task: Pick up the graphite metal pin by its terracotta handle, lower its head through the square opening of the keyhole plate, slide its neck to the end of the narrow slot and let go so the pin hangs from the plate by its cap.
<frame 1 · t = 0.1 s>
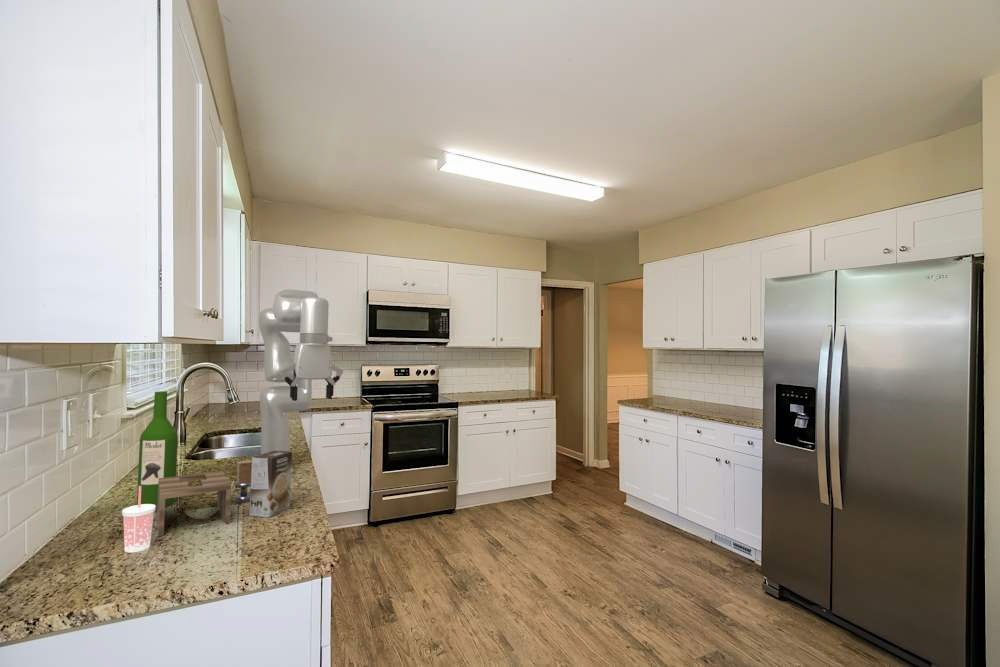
hand: (311, 399, 137), 31 cm above the worktop, fingers open, 9 cm apart
keyhole pin: (243, 500, 141), on the worktop
wine bottle: (156, 505, 136), on the worktop
keyhole plate: (192, 519, 125), on the worktop
beverage cup: (137, 549, 107), on the worktop
coffee box: (270, 512, 132), on the worktop
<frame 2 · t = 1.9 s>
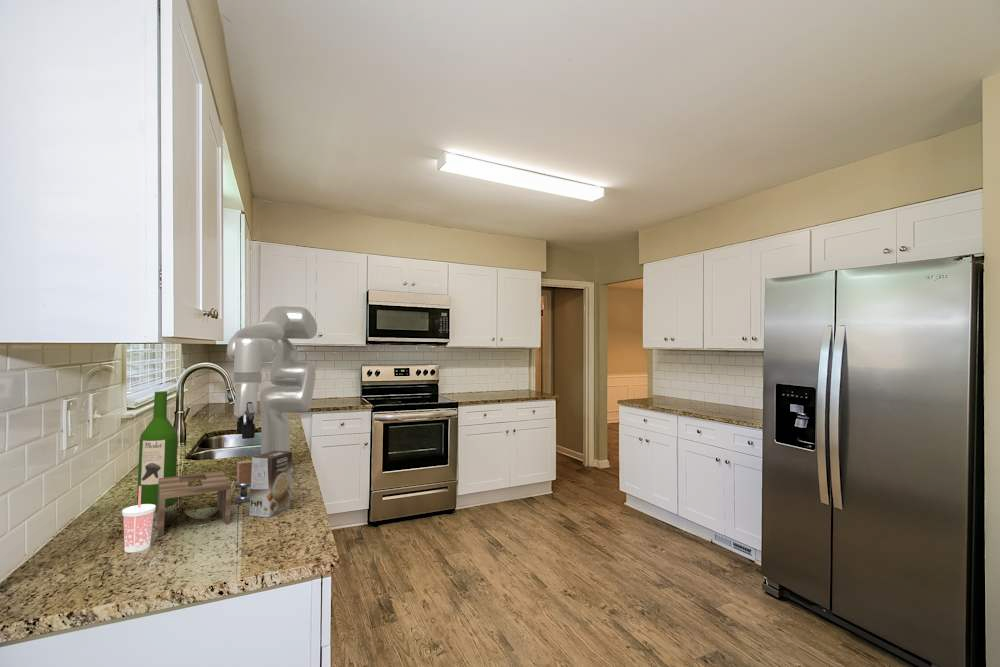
hand: (245, 436, 142), 19 cm above the worktop, fingers open, 9 cm apart
nothing on the worktop moved.
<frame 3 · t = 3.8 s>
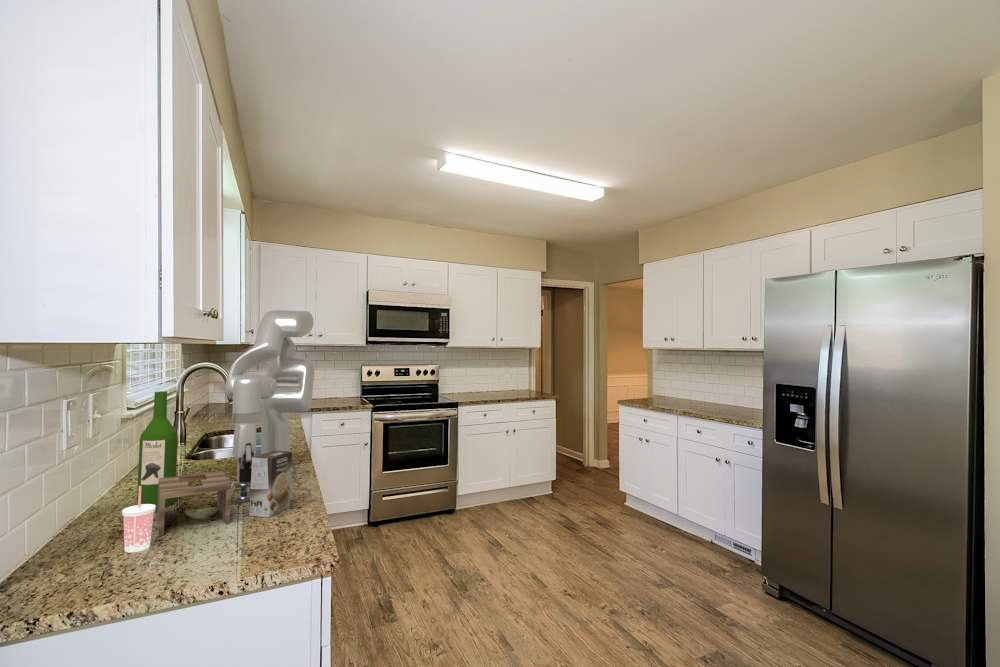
hand: (244, 479, 142), 6 cm above the worktop, fingers closed on keyhole pin, 3 cm apart
keyhole pin: (243, 500, 141), on the worktop, touching gripper
everything else where it was.
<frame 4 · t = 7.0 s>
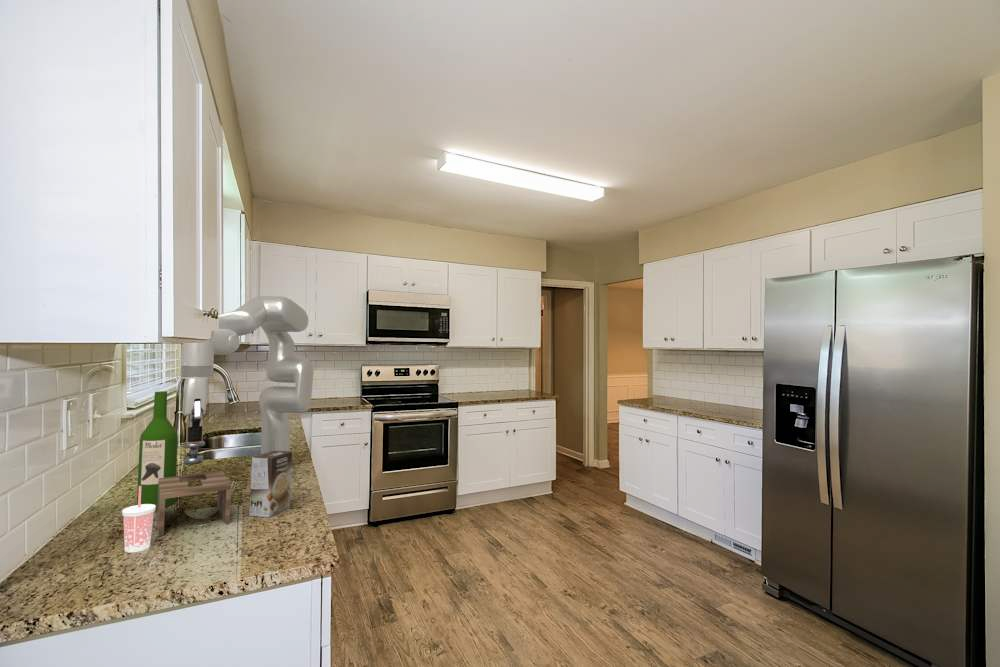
hand: (194, 439, 129), 20 cm above the worktop, fingers closed on keyhole pin, 3 cm apart
keyhole pin: (193, 462, 128), point 14 cm above the worktop, touching gripper
everything else where it was.
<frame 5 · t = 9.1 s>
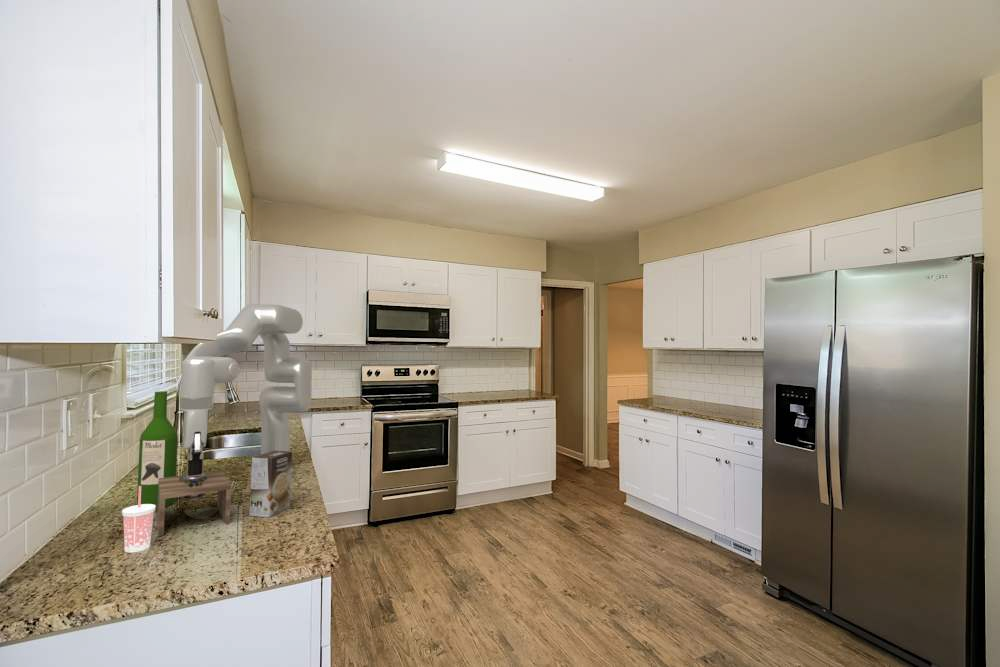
hand: (194, 472, 126), 12 cm above the worktop, fingers closed on keyhole pin, 3 cm apart
keyhole pin: (193, 496, 126), point 6 cm above the worktop, touching gripper
everything else where it was.
when the fingers open (12 cm above the worktop, at t = 10.7 s): keyhole pin stays where it is, resting on keyhole plate.
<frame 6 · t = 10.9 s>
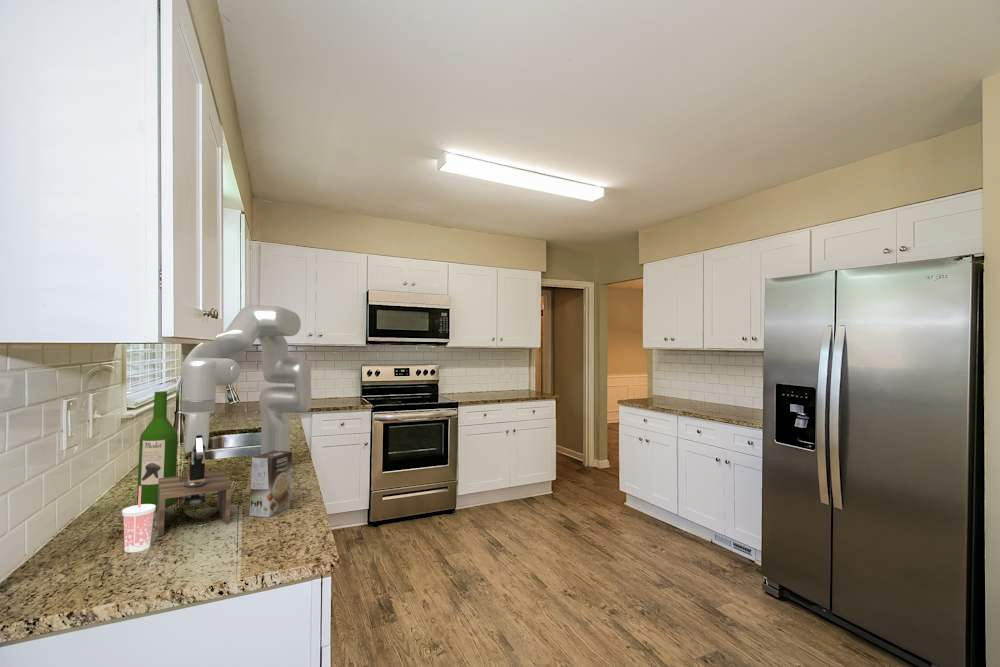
hand: (195, 476, 123), 12 cm above the worktop, fingers open, 5 cm apart
keyhole pin: (195, 502, 122), point 5 cm above the worktop, touching keyhole plate
everything else where it was.
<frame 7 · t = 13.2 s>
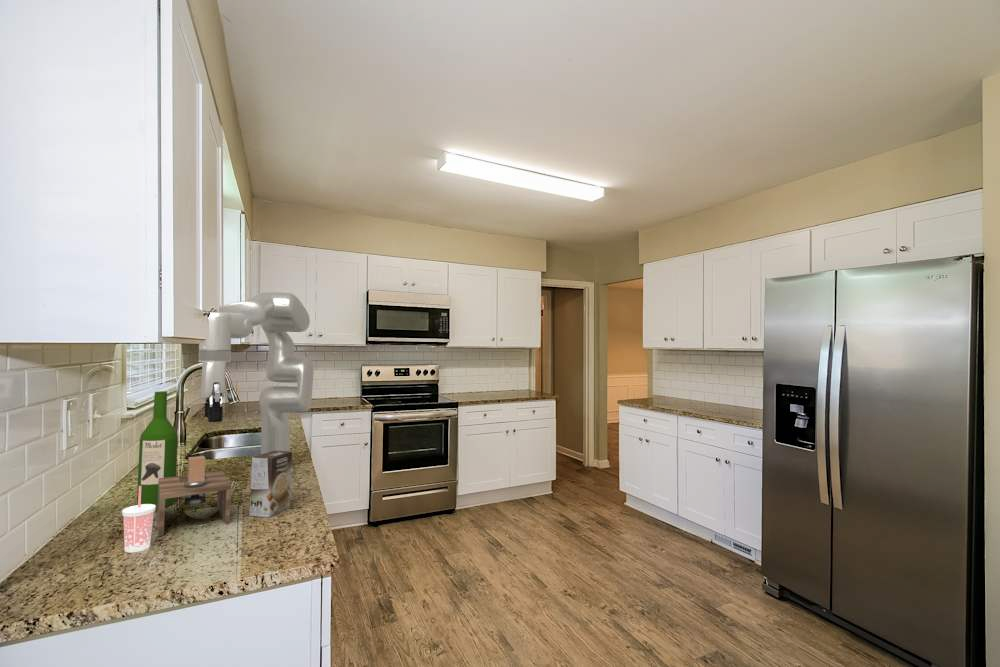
hand: (213, 419, 129), 26 cm above the worktop, fingers open, 9 cm apart
nothing on the worktop moved.
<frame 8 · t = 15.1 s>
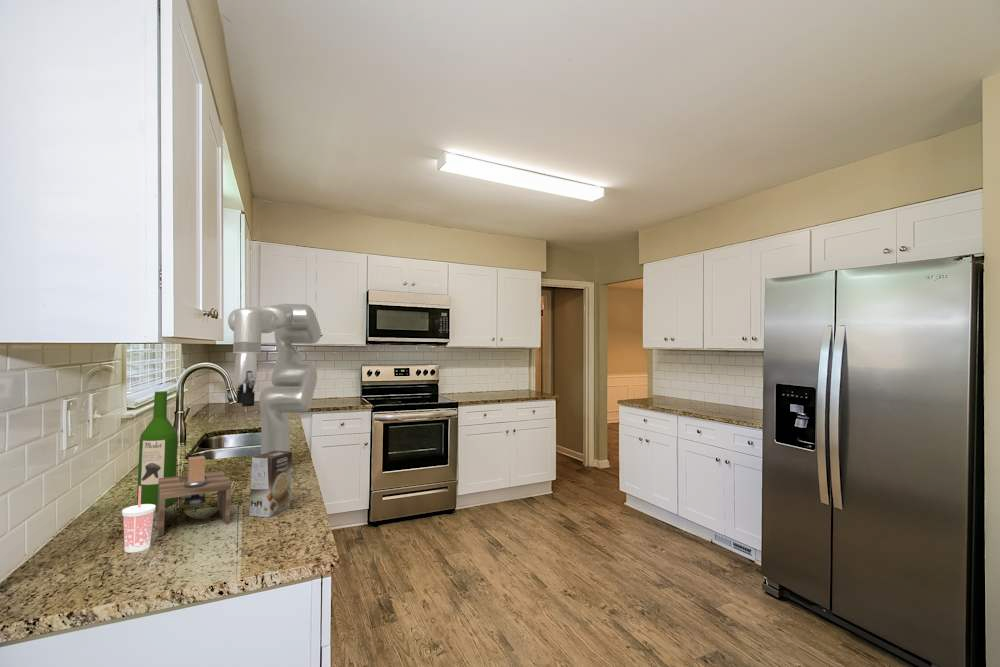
hand: (245, 404, 145), 28 cm above the worktop, fingers open, 9 cm apart
nothing on the worktop moved.
at the end: keyhole pin 0.3 cm from the target spot on the keyhole plate, point 5.5 cm above the keyhole plate's base; keyhole pin tilted 0°; the gripper is holding nothing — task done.
